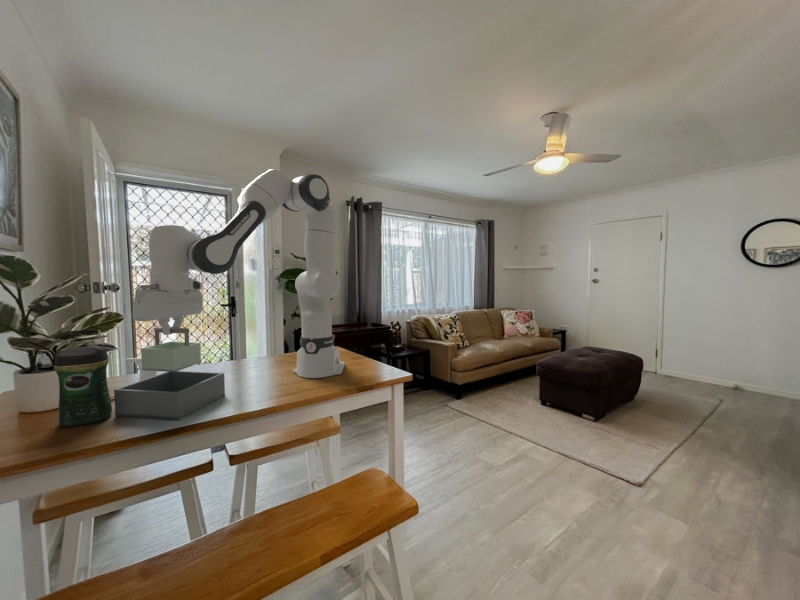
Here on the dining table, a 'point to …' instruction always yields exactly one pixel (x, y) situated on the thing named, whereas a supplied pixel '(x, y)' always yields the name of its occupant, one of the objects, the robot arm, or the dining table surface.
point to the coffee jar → (82, 385)
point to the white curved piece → (143, 373)
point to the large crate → (169, 395)
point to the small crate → (171, 353)
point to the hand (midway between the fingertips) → (171, 333)
